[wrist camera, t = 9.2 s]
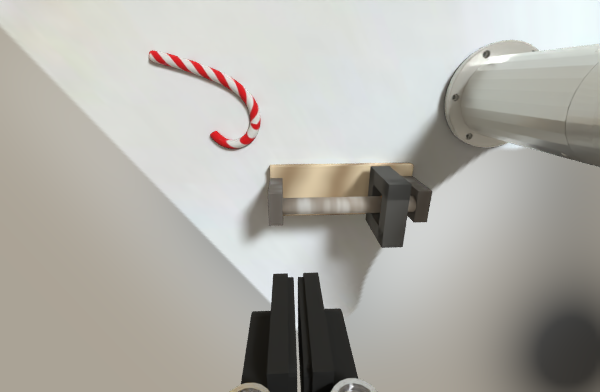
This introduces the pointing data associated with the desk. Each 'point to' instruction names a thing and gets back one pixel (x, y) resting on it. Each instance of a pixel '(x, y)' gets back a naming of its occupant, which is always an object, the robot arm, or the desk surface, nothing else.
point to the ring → (389, 205)
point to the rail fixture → (336, 190)
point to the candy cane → (223, 80)
